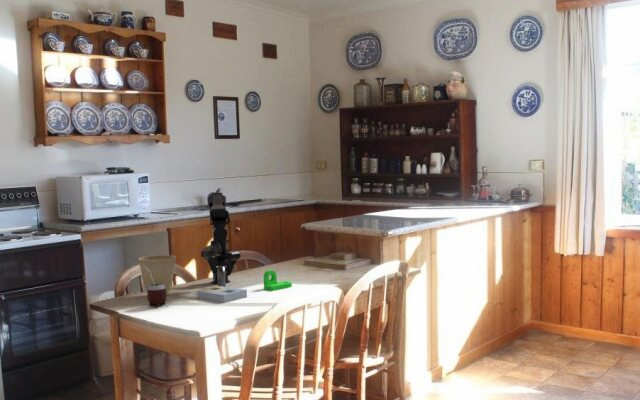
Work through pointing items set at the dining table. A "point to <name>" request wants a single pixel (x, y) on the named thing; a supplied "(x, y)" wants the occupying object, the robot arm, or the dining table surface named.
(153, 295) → the mate gourd
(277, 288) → the mechanical part
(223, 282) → the pin
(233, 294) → the socket board
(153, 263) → the plant pot
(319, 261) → the dining table surface
